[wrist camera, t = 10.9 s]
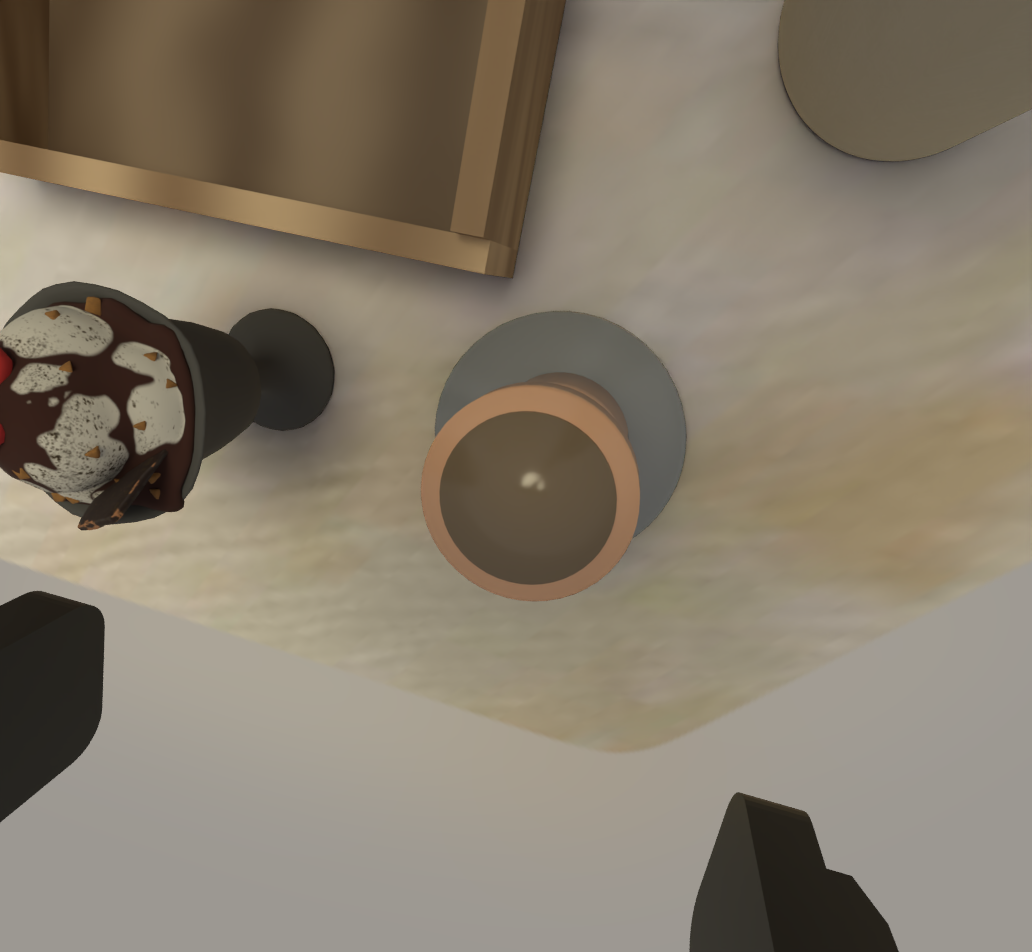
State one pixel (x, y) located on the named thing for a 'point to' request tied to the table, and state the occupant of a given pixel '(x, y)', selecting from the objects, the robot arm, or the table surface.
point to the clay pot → (534, 488)
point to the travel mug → (905, 71)
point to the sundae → (142, 396)
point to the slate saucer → (599, 358)
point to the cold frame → (291, 113)
